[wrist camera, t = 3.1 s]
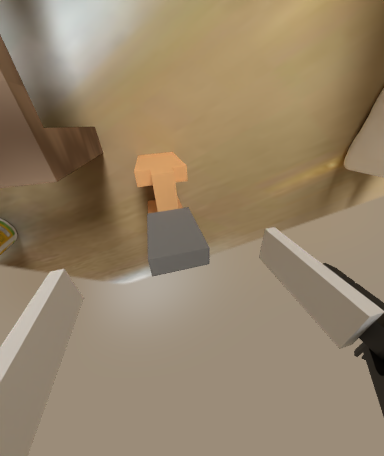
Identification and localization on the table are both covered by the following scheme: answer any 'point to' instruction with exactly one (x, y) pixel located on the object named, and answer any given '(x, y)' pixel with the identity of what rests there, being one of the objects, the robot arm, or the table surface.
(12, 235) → the supplement bottle
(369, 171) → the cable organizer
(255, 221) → the table surface
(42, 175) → the cutout shelf
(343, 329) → the robot arm
